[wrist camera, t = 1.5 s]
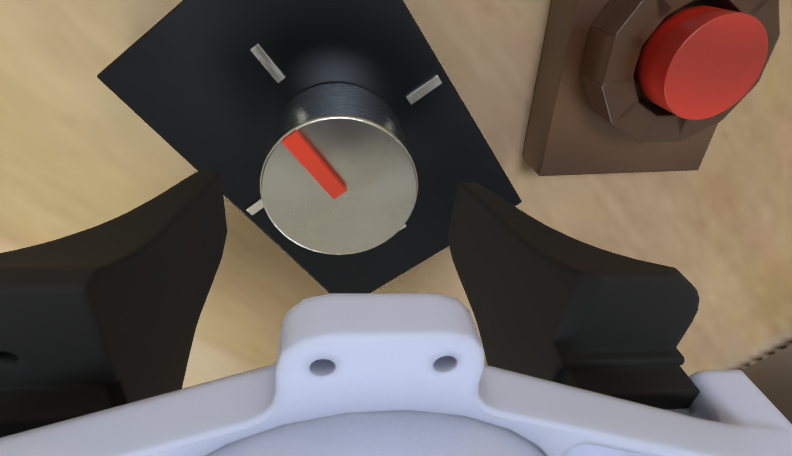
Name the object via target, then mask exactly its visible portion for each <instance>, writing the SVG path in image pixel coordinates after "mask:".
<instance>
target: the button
mask: <svg viewBox="0 0 792 456" xmlns="http://www.w3.org/2000/svg"><path fill="white" fill-rule="evenodd" d="M767 51H768V37H767V33H766V30H765V28H764V26H763V25H762V23H761V22H760V21H759V20H758V19H757V18H755V17H754V16H752V15H749V14H746V13H741V12H736V11H731V10H726V9H721V8H716V7H711V6H694V7H690V8H687V9H684V10H682V11H680V12H678V13H676V14H674V15H673V16H671V17H669V18H668V19H667V20H666V21H664V22H663V23H662V24H661V25H660V26H659V27H658V28H657V29H656V30H655V31H654V32H653V34H652V35H651V36H650V38H649V39H648V41H647V43H646V44H645V46H644V48H643V50H642V52H641V55H640V58H639V62H638V66H637V81H638V85H639V88H640V90H641V92H642V94H643V95H644V97H645V98H647V99H648V100H649V101H651V102H652V103H654V104H656V105H658V106H660V107H662V108H664V109H665V110H667V111H669V112H671V113H673V114H675V115H677V116H679V117H681V118H684V119H688V120H700V119H706V118H709V117H712V116H715V115H717V114H720V113H722V112H723V111H725V110H727V109H728V108H730V107H731V106H733V105H734V104H735V103H736V102H738V101H739V100H740V99H741V98H742V97H743V96H744V95H745V94H746V93H747V92H748V91H749V89H750V88H751V87H752V86H753V84H754V83H755V81H756V80H757V78H758V77H759V75H760V73H761V71H762V69H763V66H764V64H765V60H766V57H767Z"/></svg>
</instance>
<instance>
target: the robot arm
mask: <svg viewBox="0 0 792 456" xmlns="http://www.w3.org/2000/svg"><path fill="white" fill-rule="evenodd" d="M226 234H227V225H226V216H225V207H224V198H223V190H222V181H221V172H196V173H194V174H193V175H191V176H189V177H188V178H186V179H184V180H183V181H181V182H180V183H178V184H176V185H175V186H173V187H172V188H170V189H168V190H167V191H165V192H163V193H162V194H160V195H159V196H157V197H155V198H153V199H152V200H150V201H148V202H146V203H144V204H142V205H141V206H139V207H137V208H135V209H133V210H132V211H130V212H128V213H126V214H124V215H121V216H119V217H117V218H115V219H112V220H110V221H108V222H105V223H103V224H101V225H98V226H96V227H93V228H90V229H87V230H84V231H81V232H78V233H75V234H72V235H69V236H66V237H64V238H60V239H57V240H54V241H50V242H46V243H43V244H39V245H35V246H31V247H27V248H22V249H18V250H14V251H9V252H4V253H0V456H792V424H791V423H790V422H789V421H788V420H787V419H786V418H785V417H784V416H783V415H782V414H781V413H780V411H778V409H777V408H776V407H775V406H774V405H773V404H772V403H771V402H770V401H769V400H768V399H767V398H766V397H765V395H764V394H763V393H762V392H761V391H760V390H759V389H758V388H757V387H756V386H755V385H754V384H753V383H752V382H751V381H750V379H749V378H748V377H747V376H746V375H745V374H744V373H743V372H742V371H741V370H711V371H700V372H696V373H694V374H692V375H690V376H689V377H688V376H687V374H686V373H685V372H684V371H683V369H682V368H681V367H680V366H679V365H682V364H683V363H684V357H683V356H682V354H681V353H680V352H679V351H678V350H677V348H676V347H677V345H678V343H679V342H680V340H681V339H682V337H683V335H684V334H685V332H686V331H687V329H688V328H689V326H690V324H691V323H692V321H693V319H694V317H695V315H696V313H697V310H698V305H699V296H698V292H697V290H696V289H695V287H694V286H693V285H692V284H691V283H690V282H689V281H688V280H687V279H686V278H685V277H684V276H683V275H682V274H681V273H680V272H679V271H678V270H677V269H676V268H673V267H668V266H664V265H659V264H655V263H650V262H645V261H641V260H636V259H633V258H629V257H626V256H622V255H618V254H615V253H612V252H609V251H606V250H602V249H599V248H597V247H594V246H591V245H589V244H586V243H583V242H581V241H578V240H576V239H574V238H571V237H569V236H567V235H565V234H563V233H560V232H558V231H556V230H554V229H552V228H550V227H548V226H546V225H544V224H543V223H541V222H539V221H537V220H536V219H534V218H532V217H531V216H529V215H527V214H526V213H524V212H522V211H521V210H519V209H518V208H516V207H515V206H513V205H512V204H510V203H509V202H507V201H506V200H504V199H503V198H501V197H500V196H498V195H497V194H495V193H494V192H492V191H491V190H489V189H487V188H486V187H484V186H482V185H481V184H478V183H470V182H458V186H457V191H456V196H455V201H454V206H453V211H452V216H451V221H450V226H449V231H448V235H447V236H448V241H449V246H450V250H451V254H452V259H453V262H454V265H455V267H456V270H457V272H458V275H459V278H460V280H461V283H462V285H463V288H464V290H465V293H466V295H467V298H468V300H469V303H470V305H471V308H472V310H473V313H474V315H475V318H476V321H477V324H478V328H479V332H480V336H481V339H482V343H483V347H484V350H483V347H482V344H481V341H480V338H479V336H478V333H477V330H476V328H475V325H474V322H473V320H472V317H471V314H470V311H469V310H468V309H467V308H466V307H465V306H464V305H463V304H462V303H461V302H460V301H459V300H458V299H457V298H453V297H449V296H444V295H440V294H435V293H329V294H324V295H319V296H314V297H309V298H304V299H303V300H302V301H300V302H299V303H298V304H296V305H295V306H293V307H292V308H291V309H289V310H288V311H287V312H286V314H285V317H284V320H283V322H282V325H281V328H280V334H279V343H278V351H277V359H276V363H274V364H273V365H269V366H265V367H262V368H258V369H254V370H251V371H247V372H243V373H239V374H236V375H232V376H228V377H224V378H221V379H217V380H213V381H210V382H206V383H202V384H198V385H195V386H191V387H187V388H184V389H182V385H183V381H184V376H185V372H186V367H187V363H188V358H189V354H190V350H191V346H192V342H193V337H194V333H195V329H196V326H197V323H198V320H199V317H200V314H201V311H202V308H203V306H204V303H205V301H206V298H207V295H208V293H209V290H210V288H211V285H212V282H213V280H214V277H215V274H216V272H217V269H218V266H219V264H220V261H221V258H222V254H223V249H224V245H225V240H226ZM484 351H485V355H486V360H487V364H488V365H484Z"/></svg>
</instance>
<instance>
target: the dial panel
mask: <svg viewBox="0 0 792 456" xmlns="http://www.w3.org/2000/svg"><path fill="white" fill-rule="evenodd" d="M97 77H98V78H99V79H100V80H101V81H102V82H103V83H104V84H105V85H106V86H107V87H108V88H109V89H110V90H112V91H113V92H114V93H115V94H116V95H117V96H118V97H119V98H120V99H121V100H122V101H123V102H124V103H126V104H127V105H128V106H129V107H130V108H131V109H132V110H133V111H134V112H135V113H136V114H137V115H138V116H139V117H141V118H142V119H143V120H144V121H145V122H146V123H147V124H148V125H149V126H150V127H151V128H152V129H153V130H155V131H156V132H157V133H158V134H159V135H160V136H161V137H162V138H163V139H164V140H165V141H166V142H167V143H169V144H170V145H171V146H172V147H173V148H174V149H175V150H176V151H177V152H178V153H179V154H180V155H181V156H182V157H184V158H185V159H186V160H187V161H188V162H189V163H190V164H191V165H192V166H193V167H194V168H195V169H196V170H198V171H199V172H221V181H222V190H223V195H224V196H225V197H227V198H228V199H229V200H230V201H231V202H232V203H233V204H234V205H235V206H236V207H237V208H238V209H239V210H241V211H242V212H243V213H244V214H245V215H246V216H247V217H248V218H249V219H250V220H251V221H252V222H253V223H255V224H256V225H257V226H258V227H259V228H260V229H261V230H262V231H263V232H264V233H265V234H266V235H267V236H268V237H270V238H271V239H272V240H273V241H274V242H275V243H276V244H277V245H278V246H279V247H280V248H281V249H282V250H284V251H285V252H286V253H287V254H288V255H289V256H290V257H291V258H292V259H293V260H294V261H295V262H296V263H298V264H299V265H300V266H301V267H302V268H303V269H304V270H305V271H306V272H307V273H308V274H309V275H310V276H312V277H313V278H314V279H315V280H316V281H317V282H318V283H319V284H320V285H321V286H322V287H323V288H324V289H325V290H327V291H328V292H329V293H371V292H373V291H374V290H376V289H378V288H379V287H381V286H383V285H384V284H386V283H388V282H389V281H391V280H393V279H394V278H396V277H398V276H399V275H401V274H403V273H404V272H406V271H408V270H409V269H411V268H413V267H414V266H416V265H418V264H419V263H421V262H423V261H424V260H426V259H428V258H429V257H431V256H433V255H434V254H436V253H438V252H439V251H441V250H443V249H444V248H446V247H448V246H449V241H448V236H447V235H448V231H449V226H450V221H451V216H452V211H453V206H454V201H455V196H456V191H457V186H458V182H470V183H478V184H481V185H482V186H484V187H486V188H487V189H489V190H491V191H492V192H494V193H495V194H497V195H498V196H500V197H501V198H503V199H504V200H506V201H507V202H509V203H510V204H512V205H513V206H516V205H518V204H519V203H521V199H520V198H519V196H518V194H517V193H516V191H515V189H514V187H513V186H512V184H511V182H510V181H509V179H508V177H507V176H506V174H505V172H504V171H503V169H502V167H501V165H500V164H499V162H498V160H497V159H496V157H495V155H494V154H493V152H492V150H491V149H490V147H489V145H488V144H487V142H486V140H485V138H484V137H483V135H482V133H481V132H480V130H479V128H478V127H477V125H476V123H475V122H474V120H473V118H472V116H471V115H470V113H469V111H468V110H467V108H466V106H465V105H464V103H463V101H462V100H461V98H460V96H459V95H458V93H457V91H456V89H455V88H454V86H453V84H452V83H451V81H450V79H449V78H448V76H447V74H446V73H445V71H444V69H443V67H442V66H441V64H440V62H439V61H438V59H437V57H436V56H435V54H434V52H433V51H432V49H431V47H430V46H429V44H428V42H427V40H426V39H425V37H424V35H423V34H422V32H421V30H420V29H419V27H418V25H417V24H416V22H415V20H414V18H413V17H412V15H411V13H410V12H409V10H408V8H407V7H406V5H405V3H404V2H403V0H183V1H182V2H181V3H179V4H178V5H177V6H176V7H175V8H174V9H173V10H171V11H170V12H169V13H168V14H167V15H166V16H165V17H163V18H162V19H161V20H160V21H159V22H158V23H157V24H155V25H154V26H153V27H152V28H151V29H150V30H149V31H147V32H146V33H145V34H144V35H143V36H142V37H140V38H139V39H138V40H137V41H136V42H135V43H134V44H132V45H131V46H130V47H129V48H128V49H127V50H126V51H124V52H123V53H122V54H121V55H120V56H119V57H118V58H116V59H115V60H114V61H113V62H112V63H111V64H110V65H108V66H107V67H106V68H105V69H104V70H103V71H102V72H100V73H99V74H98V75H97ZM328 83H344V84H351V85H355V86H359V87H361V88H364V89H366V90H368V91H370V92H372V93H374V94H375V95H377V96H378V97H380V98H381V99H382V100H383V101H384V102H385V103H386V104H387V105H388V106H389V107H390V108H391V109H392V111H393V112H394V114H395V115H396V117H397V119H398V121H399V123H400V125H401V128H402V131H403V133H404V136H405V139H406V141H407V144H408V147H409V150H410V152H411V155H412V158H413V160H414V163H415V166H416V170H417V175H418V194H417V200H416V203H415V206H414V209H413V211H412V213H411V215H410V217H409V218H408V220H407V221H406V223H405V224H404V225H403V227H402V228H401V229H400V230H399V231H398V232H397V233H396V234H395V235H394V236H393V237H391V238H390V239H388V240H387V241H386V242H384V243H382V244H380V245H379V246H377V247H374V248H372V249H369V250H366V251H363V252H360V253H354V254H346V255H331V254H324V253H319V252H315V251H312V250H309V249H306V248H304V247H302V246H300V245H298V244H296V243H294V242H293V241H291V240H290V239H288V238H287V237H286V236H285V235H283V234H282V233H281V232H280V231H279V230H278V229H277V228H276V226H275V225H274V224H273V222H272V221H271V220H270V218H269V217H268V215H267V213H266V211H265V209H264V206H263V203H262V200H261V194H260V174H261V170H262V166H263V163H264V159H265V155H266V152H267V148H268V145H269V141H270V138H271V134H272V130H273V127H274V124H275V121H276V119H277V117H278V115H279V114H280V112H281V111H282V109H283V108H284V107H285V106H286V104H287V103H288V102H289V101H290V100H292V99H293V98H294V97H295V96H297V95H298V94H300V93H301V92H303V91H305V90H307V89H309V88H311V87H315V86H318V85H322V84H328Z"/></svg>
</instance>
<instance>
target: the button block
mask: <svg viewBox="0 0 792 456" xmlns="http://www.w3.org/2000/svg"><path fill="white" fill-rule="evenodd" d="M694 6H711V7H716V8H721V9H726V10H731V11H736V12H741V13H746V14H749V15H752V16H754V17H755V18H757V19H758V20H759V21H760V22H761V23H762V25H763V26H764V28H765V30H766V33H767V37H768V51H767V57H766V60H765V64H764V66H763V69H762V71H761V73H760V75H759V77H758V78H757V80H756V81H755V83H754V84H753V86H752V87H751V88H750V89H749V91H748V92H747V93H746V94H745V95H744V96H743V97H742V98H741V99H740V100H739V101H738V102H736V103H735V104H734V105H733V106H731V107H730V108H728V109H727V110H725V111H723V112H722V113H720V114H717V115H715V116H712V117H709V118H706V119H700V120H688V119H684V118H681V117H679V116H677V115H675V114H673V113H671V112H669V111H667V110H665V109H664V108H662V107H660V106H658V105H656V104H654V103H652V102H651V101H649V100H648V99H647V98H645V97H644V95H643V94H642V92H641V90H640V88H639V85H638V81H637V66H638V62H639V58H640V55H641V52H642V50H643V48H644V46H645V44H646V43H647V41H648V39H649V38H650V36H651V35H652V34H653V32H654V31H655V30H656V29H657V28H658V27H659V26H660V25H661V24H662V23H663V22H664V21H666V20H667V19H668V18H669V17H671V16H673V15H674V14H676V13H678V12H680V11H682V10H684V9H687V8H690V7H694ZM779 35H780V29H779V0H552V4H551V9H550V14H549V19H548V24H547V30H546V35H545V40H544V45H543V51H542V56H541V61H540V66H539V72H538V77H537V82H536V87H535V93H534V98H533V103H532V108H531V114H530V119H529V124H528V129H527V135H526V140H525V145H524V150H523V158H524V159H525V160H526V161H527V162H528V164H529V165H530V166H531V167H532V168H533V169H534V171H535V172H536V173H537V174H538V175H539V176H553V175H580V174H606V173H633V172H660V171H687V170H698V169H699V166H700V164H701V162H702V159H703V157H704V155H705V152H706V150H707V148H708V145H709V143H710V141H711V138H712V136H713V134H714V131H715V129H716V127H717V124H718V123H719V122H720V121H721V120H723V119H724V118H725V117H726V116H727V115H728V113H729V112H730V111H731V110H732V109H733V108H734V107H735V106H736V105H737V104H738V103H739V102H740V101H741V100H742V99H743V98H744V97H745V96H746V95H747V94H748V93H749V92H750V91H751V90H752V89H753V87H754V86H755V85H756V84H757V83H758V82H759V79H760V77H761V75H762V73H763V71H764V69H765V66H766V64H767V62H768V60H769V58H770V55H771V53H772V51H773V49H774V47H775V44H776V42H777V40H778V38H779Z"/></svg>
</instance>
